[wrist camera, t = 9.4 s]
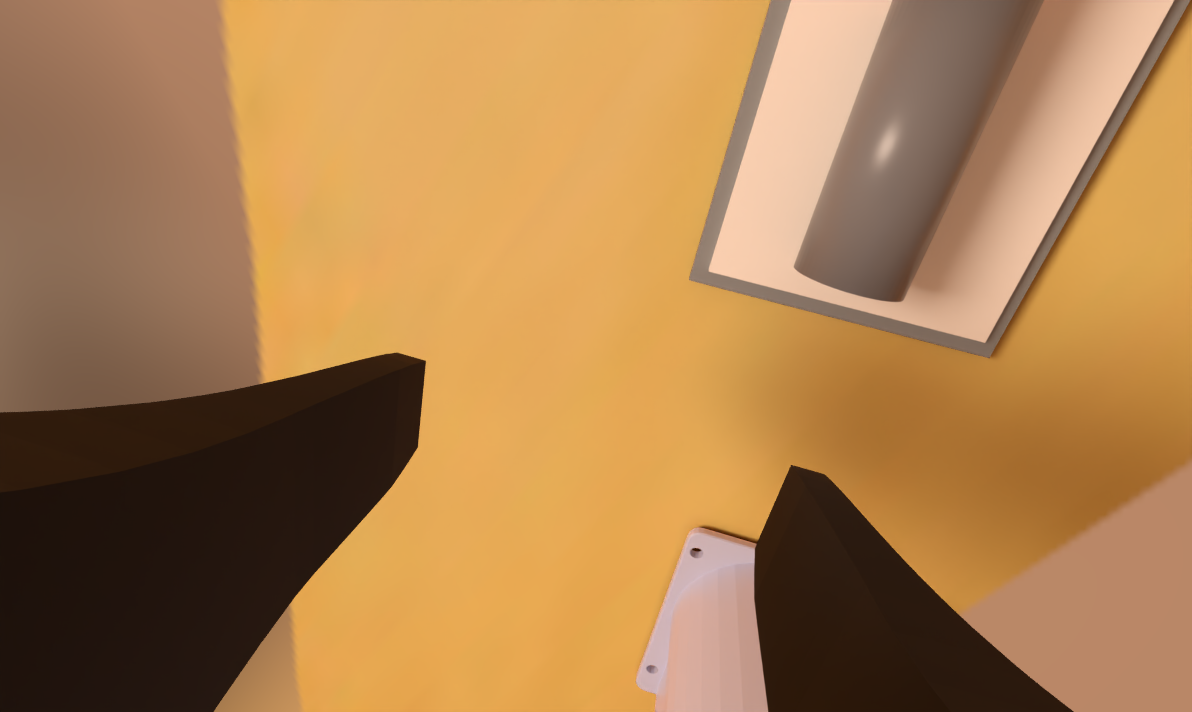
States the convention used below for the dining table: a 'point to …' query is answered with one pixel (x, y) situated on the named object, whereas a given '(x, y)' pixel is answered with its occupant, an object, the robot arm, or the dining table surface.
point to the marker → (910, 140)
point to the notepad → (985, 191)
